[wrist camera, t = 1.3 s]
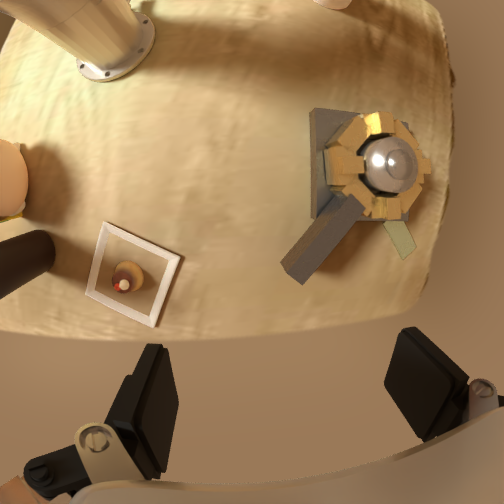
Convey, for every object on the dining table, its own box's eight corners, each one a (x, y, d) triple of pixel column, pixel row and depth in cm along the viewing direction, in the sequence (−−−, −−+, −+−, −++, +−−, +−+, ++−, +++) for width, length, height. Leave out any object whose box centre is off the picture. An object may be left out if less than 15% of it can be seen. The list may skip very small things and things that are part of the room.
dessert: (88, 291, 36) (73, 304, 31) (106, 219, 34) (90, 225, 29) (155, 325, 38) (147, 342, 33) (182, 254, 36) (174, 265, 31)
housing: (309, 112, 31) (337, 88, 21) (417, 129, 32) (462, 121, 22) (309, 263, 36) (335, 293, 26) (413, 258, 37) (455, 280, 27)
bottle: (39, 276, 34) (-41, 330, 15) (23, 240, 33) (-63, 278, 13) (62, 260, 34) (-27, 315, 15) (45, 221, 32) (-51, 255, 13)
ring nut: (360, 102, 29) (381, 91, 23) (418, 167, 31) (444, 167, 26) (248, 236, 32) (251, 248, 27) (320, 293, 35) (334, 312, 29)
